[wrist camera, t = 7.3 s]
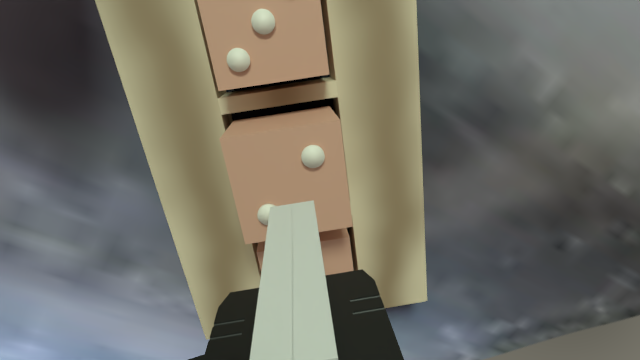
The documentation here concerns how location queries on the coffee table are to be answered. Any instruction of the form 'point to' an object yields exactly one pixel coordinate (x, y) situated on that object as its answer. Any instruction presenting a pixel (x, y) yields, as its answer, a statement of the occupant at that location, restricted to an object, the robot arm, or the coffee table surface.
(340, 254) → the tile one pip
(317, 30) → the tile three pips
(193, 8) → the board
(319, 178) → the tile two pips
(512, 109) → the coffee table surface
